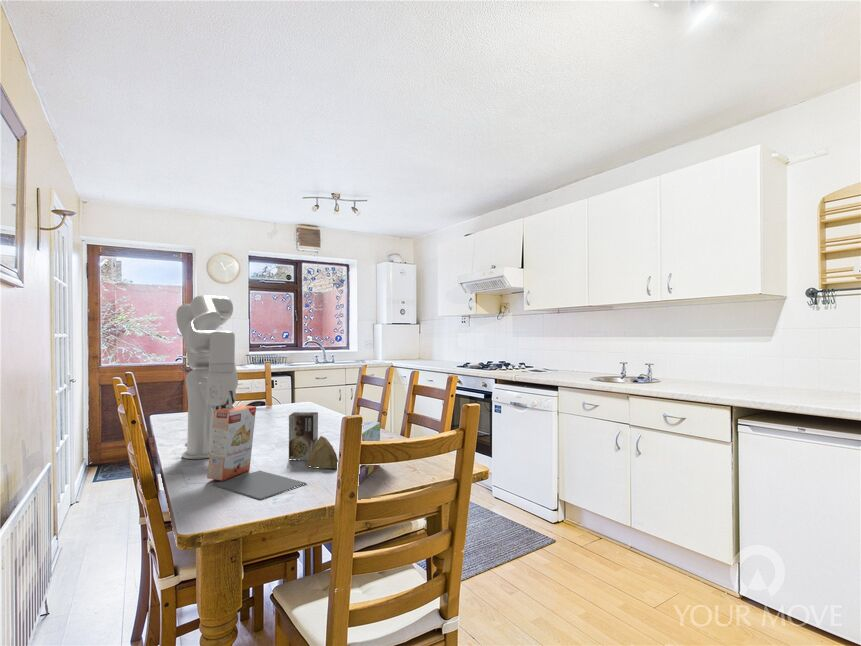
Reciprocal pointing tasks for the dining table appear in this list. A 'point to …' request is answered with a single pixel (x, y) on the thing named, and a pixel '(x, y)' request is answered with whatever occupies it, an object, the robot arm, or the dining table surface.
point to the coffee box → (302, 434)
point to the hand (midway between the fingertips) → (220, 426)
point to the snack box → (369, 434)
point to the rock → (322, 455)
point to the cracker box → (231, 442)
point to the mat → (259, 484)
